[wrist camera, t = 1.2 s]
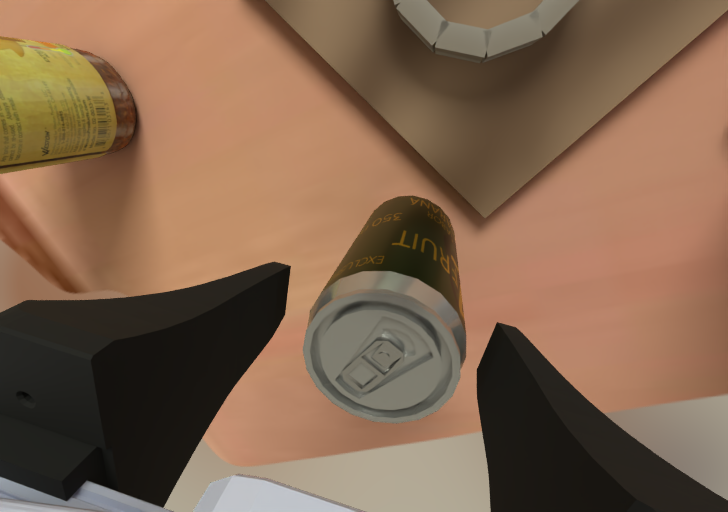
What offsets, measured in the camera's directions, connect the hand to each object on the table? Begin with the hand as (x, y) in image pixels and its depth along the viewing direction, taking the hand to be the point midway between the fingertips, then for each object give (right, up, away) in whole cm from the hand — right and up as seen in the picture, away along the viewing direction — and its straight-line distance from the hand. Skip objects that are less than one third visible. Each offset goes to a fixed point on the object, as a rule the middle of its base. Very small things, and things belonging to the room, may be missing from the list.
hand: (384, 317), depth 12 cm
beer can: (+2, +3, +10) cm, 11 cm away
